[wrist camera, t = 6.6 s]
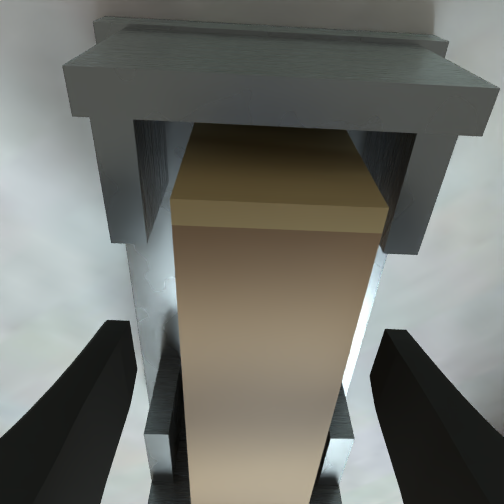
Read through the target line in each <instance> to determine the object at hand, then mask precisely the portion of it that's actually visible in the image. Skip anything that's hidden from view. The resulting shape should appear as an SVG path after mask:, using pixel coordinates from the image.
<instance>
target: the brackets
mask: <svg viewBox="0 0 504 504" xmlns="http://www.w3.org/2000/svg"><path fill="white" fill-rule="evenodd" d="M93 24H94V31H95V38H96V45H95V46H94V47H92V48H90V49H89V50H87V51H85V52H84V53H82V54H80V55H79V56H77V57H75V58H74V59H72V60H70V61H69V62H67V63H65V64H64V65H62V66H63V71H64V77H65V82H66V87H67V92H68V97H69V102H70V107H71V113H72V116H74V117H90V122H91V128H92V134H93V140H94V145H95V151H96V157H97V163H98V169H99V175H100V181H101V186H102V192H103V198H104V204H105V210H106V216H107V222H108V227H109V233H110V239H111V243H126V249H127V256H128V263H129V270H130V276H131V283H132V290H133V297H134V304H135V310H136V317H137V324H138V331H139V338H140V345H141V351H142V358H143V365H144V372H145V379H146V385H147V392H148V399H149V406H150V408H149V413H148V417H147V422H146V426H145V431H144V438H145V444H146V450H147V456H148V462H149V468H150V473H151V479H152V483H151V489H150V494H149V500H148V504H191V495H190V481H189V466H188V452H187V438H186V424H185V409H184V395H183V381H182V366H181V352H180V338H179V324H178V309H177V295H176V281H175V266H174V252H173V238H172V224H171V209H170V197H171V194H172V190H173V187H174V184H175V181H176V178H177V175H178V172H179V169H180V166H181V163H182V159H183V156H184V153H185V150H186V147H187V144H188V141H189V138H190V135H191V132H192V128H193V125H194V122H197V123H217V124H238V125H258V126H279V127H299V128H320V129H340V130H346V131H347V132H348V134H349V136H350V138H351V140H352V142H353V143H354V145H355V147H356V149H357V151H358V152H359V154H360V156H361V158H362V160H363V162H364V163H365V165H366V167H367V169H368V171H369V172H370V174H371V176H372V178H373V180H374V182H375V183H376V185H377V187H378V189H379V191H380V193H381V194H382V196H383V198H384V200H385V202H386V203H387V205H388V207H389V210H388V214H387V217H386V221H385V225H384V228H383V232H382V236H381V239H380V243H379V247H378V250H377V254H376V258H375V261H374V265H373V269H372V273H371V276H370V280H369V284H368V287H367V291H366V295H365V298H364V302H363V306H362V309H361V313H360V317H359V320H358V324H357V328H356V332H355V335H354V339H353V343H352V346H351V350H350V354H349V357H348V361H347V365H346V368H345V372H344V376H343V380H342V383H341V387H340V391H339V394H338V398H337V402H336V405H335V409H334V413H333V416H332V420H331V424H330V427H329V431H328V435H327V439H326V442H325V446H324V450H323V453H322V457H321V461H320V464H319V468H318V472H317V475H316V479H315V483H314V486H313V490H312V494H311V498H310V501H309V504H342V501H341V495H340V489H339V483H340V480H341V477H342V474H343V471H344V468H345V465H346V463H347V460H348V457H349V454H350V451H351V448H352V445H353V442H354V434H353V430H352V425H351V421H350V416H349V411H348V407H347V402H346V395H347V391H348V388H349V385H350V381H351V378H352V374H353V371H354V367H355V364H356V360H357V357H358V354H359V350H360V347H361V343H362V340H363V336H364V333H365V330H366V326H367V323H368V319H369V316H370V312H371V309H372V305H373V302H374V299H375V295H376V292H377V288H378V285H379V281H380V278H381V274H382V271H383V268H384V264H385V261H386V257H387V254H409V255H418V252H419V249H420V246H421V243H422V240H423V237H424V234H425V231H426V228H427V225H428V222H429V220H430V217H431V214H432V211H433V208H434V205H435V202H436V199H437V196H438V193H439V190H440V187H441V184H442V182H443V179H444V176H445V173H446V170H447V167H448V164H449V161H450V158H451V155H452V152H453V149H454V146H455V143H456V141H457V138H458V135H463V136H483V133H484V130H485V128H486V125H487V122H488V120H489V117H490V114H491V112H492V109H493V106H494V104H495V101H496V98H497V96H498V93H499V90H500V88H499V87H497V86H495V85H493V84H491V83H489V82H487V81H486V80H484V79H482V78H480V77H478V76H476V75H474V74H473V73H471V72H469V71H467V70H465V69H463V68H461V67H460V66H458V65H456V64H454V63H452V62H450V61H448V60H447V59H445V54H446V51H447V47H448V44H449V41H446V40H444V39H442V38H440V37H437V36H435V35H424V34H407V33H389V32H372V31H354V30H337V29H319V28H301V27H284V26H266V25H249V24H231V23H214V22H196V21H178V20H161V19H143V18H126V17H108V16H105V17H102V18H100V19H98V20H96V21H93Z"/></svg>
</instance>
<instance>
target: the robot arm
mask: <svg viewBox="0 0 504 504" xmlns="http://www.w3.org/2000/svg"><path fill="white" fill-rule="evenodd" d="M136 373H137V364H136V358H135V352H134V346H133V340H132V333H131V327H130V321H120V320H107V321H106V322H105V323H104V324H103V325H102V326H101V327H100V329H99V330H98V331H97V333H96V334H95V335H94V337H93V338H92V339H91V340H90V342H89V343H88V344H87V345H86V347H85V348H84V349H83V350H82V352H81V353H80V354H79V355H78V356H77V358H76V359H75V360H74V361H73V362H72V364H71V365H70V366H69V367H68V368H67V369H66V371H65V372H64V373H63V374H62V375H61V376H60V378H59V379H58V380H57V381H56V382H55V383H54V384H53V385H52V387H51V388H50V389H49V390H48V391H47V392H46V393H45V394H44V395H43V396H42V397H41V398H40V399H39V400H38V401H37V402H36V404H35V405H34V406H33V407H32V408H31V409H30V410H29V411H28V412H27V413H26V414H25V415H24V416H23V417H22V418H21V419H20V420H19V421H18V422H17V423H16V424H15V425H14V426H13V427H12V428H11V429H10V430H8V431H7V432H6V433H5V434H4V435H3V436H2V437H1V438H0V504H100V503H101V499H102V495H103V492H104V488H105V485H106V481H107V478H108V475H109V472H110V468H111V465H112V462H113V459H114V456H115V453H116V449H117V446H118V443H119V440H120V437H121V434H122V430H123V427H124V424H125V421H126V418H127V414H128V411H129V408H130V404H131V400H132V395H133V390H134V384H135V379H136ZM370 381H371V387H372V393H373V399H374V404H375V409H376V413H377V416H378V420H379V423H380V427H381V430H382V433H383V436H384V440H385V443H386V446H387V449H388V453H389V456H390V459H391V462H392V466H393V469H394V472H395V475H396V478H397V482H398V485H399V488H400V492H401V496H402V499H403V503H404V504H504V437H503V436H502V435H501V434H500V433H499V432H497V431H496V430H495V429H494V428H493V427H492V426H491V425H490V424H489V423H488V422H487V421H486V420H485V419H484V418H483V416H482V415H481V414H480V413H479V412H478V411H477V410H476V409H475V408H474V407H473V406H472V405H471V404H470V403H469V402H468V401H467V400H466V399H465V398H464V397H463V395H462V394H461V393H460V392H459V391H458V390H457V389H456V388H455V386H454V385H453V384H452V383H451V382H450V381H449V380H448V379H447V377H446V376H445V375H444V374H443V373H442V372H441V371H440V369H439V368H438V367H437V366H436V365H435V363H434V362H433V361H432V360H431V359H430V358H429V356H428V355H427V354H426V353H425V352H424V350H423V349H422V348H421V347H420V346H419V344H418V343H417V342H416V341H415V340H414V338H413V337H412V336H411V335H410V334H409V333H408V331H407V330H396V329H385V331H384V334H383V337H382V340H381V343H380V346H379V349H378V352H377V355H376V358H375V361H374V364H373V367H372V370H371V373H370Z"/></svg>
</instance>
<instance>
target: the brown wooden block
mask: <svg viewBox="0 0 504 504" xmlns="http://www.w3.org/2000/svg"><path fill="white" fill-rule="evenodd" d="M170 209H171V224H172V238H173V252H174V266H175V281H176V295H177V309H178V324H179V338H180V352H181V366H182V381H183V395H184V409H185V424H186V438H187V452H188V466H189V481H190V495H191V504H309V501H310V498H311V494H312V490H313V486H314V483H315V479H316V475H317V472H318V468H319V464H320V461H321V457H322V453H323V450H324V446H325V442H326V439H327V435H328V431H329V427H330V424H331V420H332V416H333V413H334V409H335V405H336V402H337V398H338V394H339V391H340V387H341V383H342V380H343V376H344V372H345V368H346V365H347V361H348V357H349V354H350V350H351V346H352V343H353V339H354V335H355V332H356V328H357V324H358V320H359V317H360V313H361V309H362V306H363V302H364V298H365V295H366V291H367V287H368V284H369V280H370V276H371V273H372V269H373V265H374V261H375V258H376V254H377V250H378V247H379V243H380V239H381V236H382V232H383V228H384V225H385V221H386V217H387V214H388V210H389V207H388V205H387V203H386V202H385V200H384V198H383V196H382V194H381V193H380V191H379V189H378V187H377V185H376V183H375V182H374V180H373V178H372V176H371V174H370V172H369V171H368V169H367V167H366V165H365V163H364V162H363V160H362V158H361V156H360V154H359V152H358V151H357V149H356V147H355V145H354V143H353V142H352V140H351V138H350V136H349V134H348V132H347V131H346V130H340V129H320V128H299V127H279V126H258V125H238V124H217V123H197V122H194V125H193V128H192V132H191V135H190V138H189V141H188V144H187V147H186V150H185V153H184V156H183V159H182V163H181V166H180V169H179V172H178V175H177V178H176V181H175V184H174V187H173V190H172V194H171V197H170Z"/></svg>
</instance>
